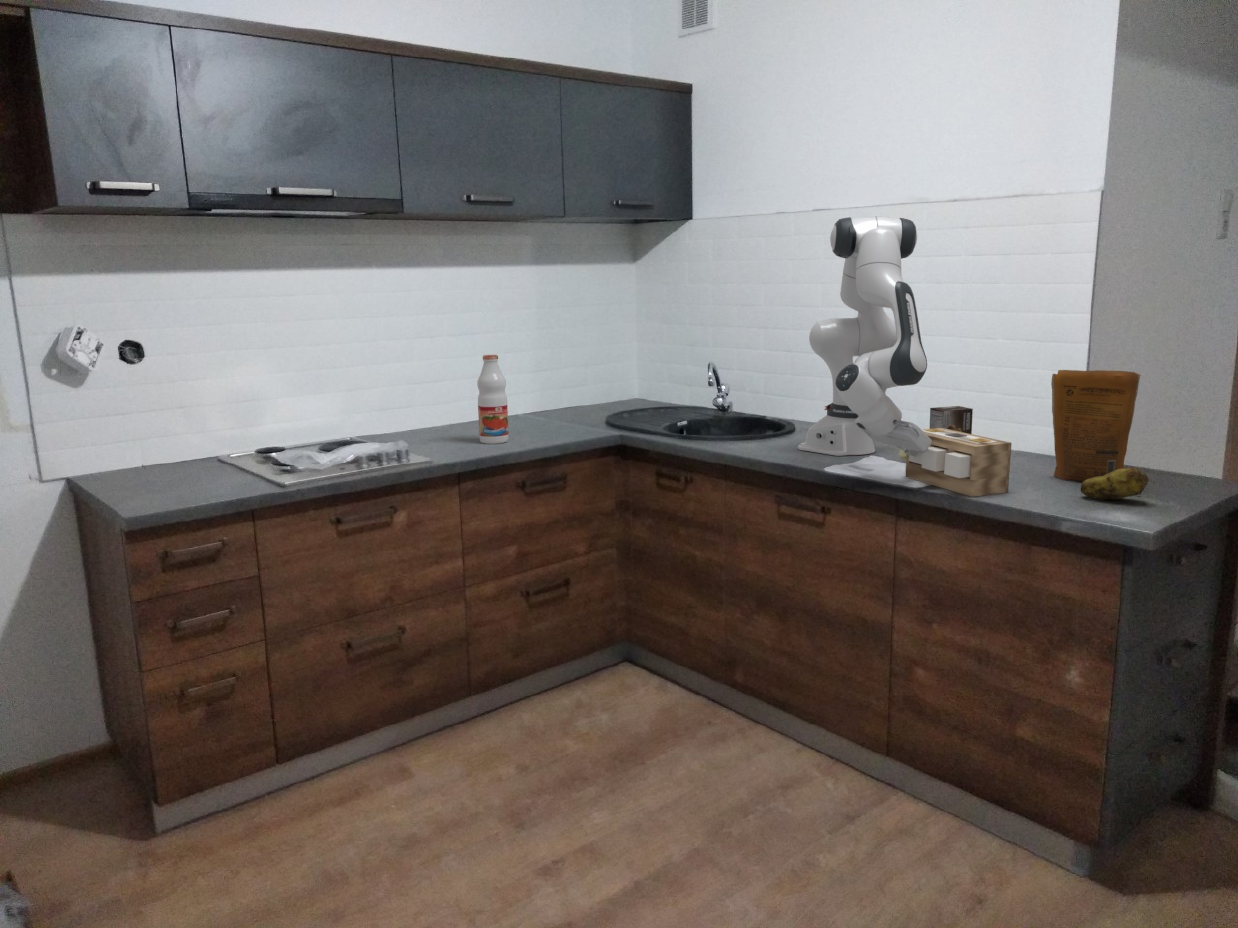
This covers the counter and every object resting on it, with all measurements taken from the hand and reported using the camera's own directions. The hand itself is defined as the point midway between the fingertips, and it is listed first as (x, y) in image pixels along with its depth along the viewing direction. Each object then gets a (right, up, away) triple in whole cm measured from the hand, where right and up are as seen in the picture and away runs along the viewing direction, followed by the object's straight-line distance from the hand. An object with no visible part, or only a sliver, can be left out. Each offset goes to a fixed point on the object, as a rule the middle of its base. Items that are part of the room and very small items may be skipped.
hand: (912, 453), depth 230 cm
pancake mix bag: (+42, -7, -3) cm, 43 cm away
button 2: (+9, -5, -13) cm, 16 cm away
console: (+9, -8, -3) cm, 12 cm away
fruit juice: (-115, +4, +66) cm, 133 cm away
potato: (+39, -11, -22) cm, 46 cm away
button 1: (+5, -2, +3) cm, 6 cm away
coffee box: (+15, -4, +17) cm, 23 cm away
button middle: (+6, -4, -6) cm, 9 cm away
